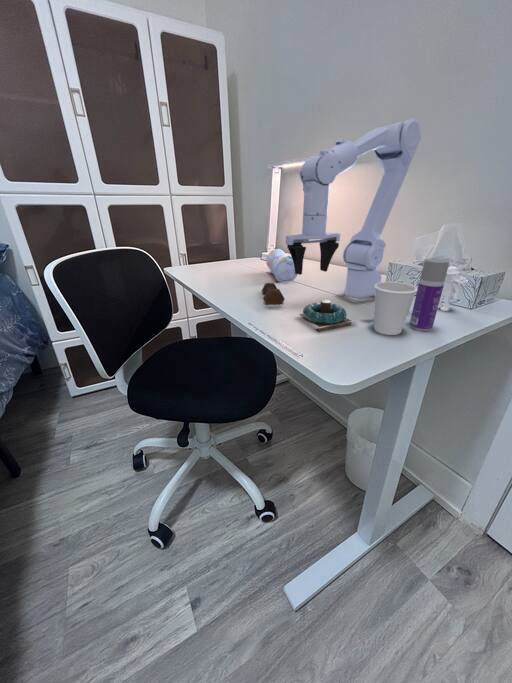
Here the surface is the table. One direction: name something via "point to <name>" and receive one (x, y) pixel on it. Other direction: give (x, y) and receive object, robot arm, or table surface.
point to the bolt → (272, 294)
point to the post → (325, 308)
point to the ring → (324, 314)
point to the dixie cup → (392, 306)
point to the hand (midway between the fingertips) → (311, 272)
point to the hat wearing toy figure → (451, 286)
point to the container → (428, 294)
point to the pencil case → (281, 265)
